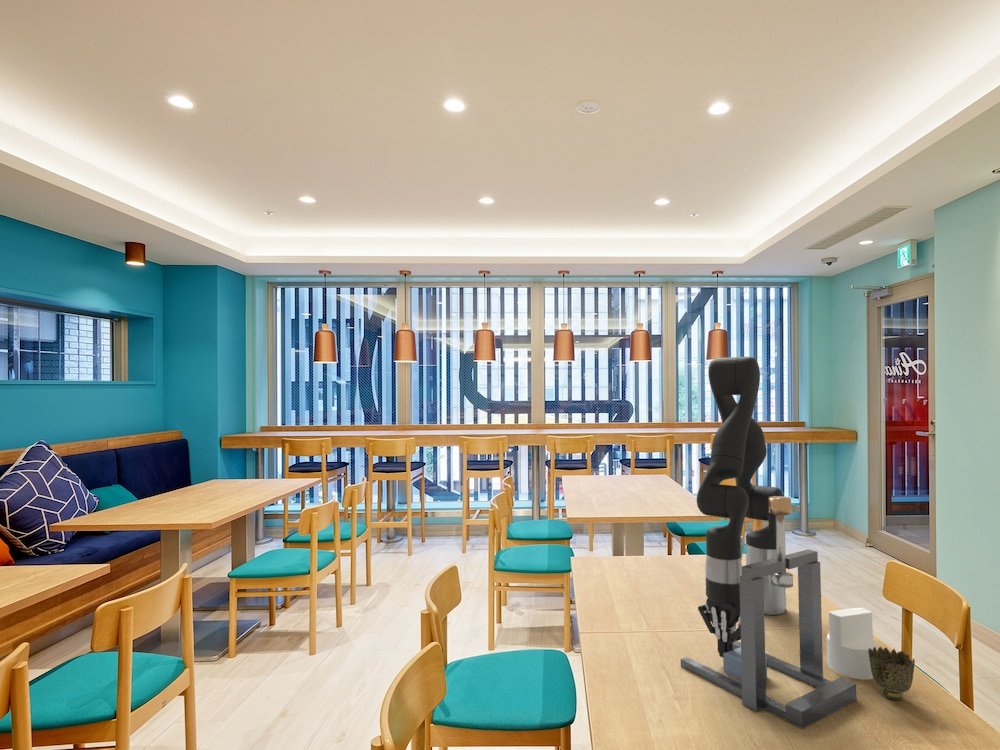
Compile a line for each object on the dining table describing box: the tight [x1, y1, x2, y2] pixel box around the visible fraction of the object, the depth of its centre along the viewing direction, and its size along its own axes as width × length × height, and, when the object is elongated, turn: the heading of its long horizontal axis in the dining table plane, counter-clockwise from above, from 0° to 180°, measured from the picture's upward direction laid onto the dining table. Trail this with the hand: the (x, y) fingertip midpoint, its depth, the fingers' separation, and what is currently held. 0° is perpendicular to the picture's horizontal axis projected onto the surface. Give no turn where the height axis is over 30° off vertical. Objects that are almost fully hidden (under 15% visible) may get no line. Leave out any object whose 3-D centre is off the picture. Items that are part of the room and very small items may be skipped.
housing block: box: [722, 645, 768, 682], centre depth 118 cm, size 6×6×6 cm
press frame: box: [680, 549, 858, 730], centre depth 115 cm, size 22×27×26 cm
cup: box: [868, 646, 915, 701], centre depth 109 cm, size 8×7×8 cm
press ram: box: [769, 496, 794, 589], centre depth 112 cm, size 4×4×17 cm
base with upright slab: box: [826, 606, 877, 681], centre depth 120 cm, size 9×9×12 cm
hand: (725, 656), depth 122 cm, fingers closed
